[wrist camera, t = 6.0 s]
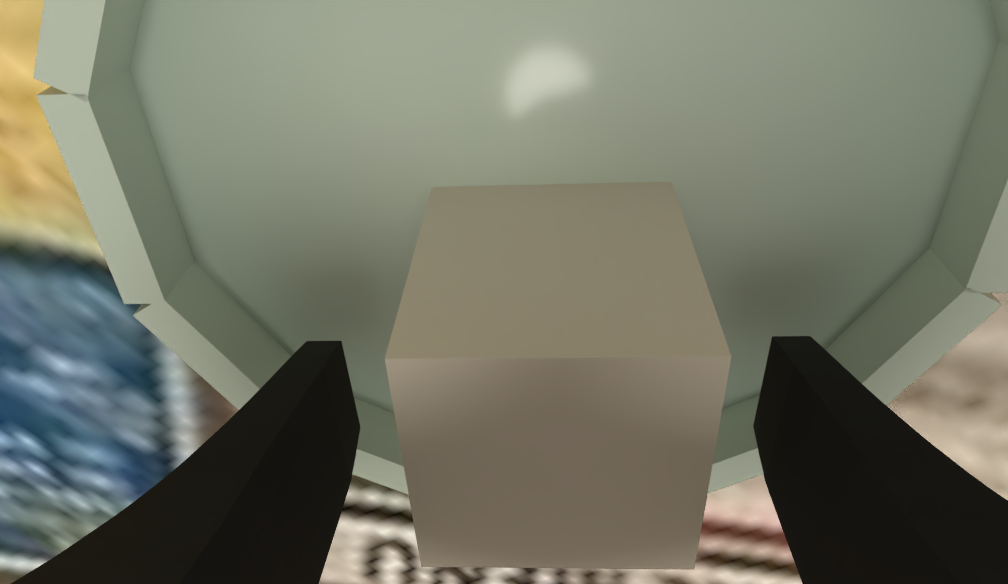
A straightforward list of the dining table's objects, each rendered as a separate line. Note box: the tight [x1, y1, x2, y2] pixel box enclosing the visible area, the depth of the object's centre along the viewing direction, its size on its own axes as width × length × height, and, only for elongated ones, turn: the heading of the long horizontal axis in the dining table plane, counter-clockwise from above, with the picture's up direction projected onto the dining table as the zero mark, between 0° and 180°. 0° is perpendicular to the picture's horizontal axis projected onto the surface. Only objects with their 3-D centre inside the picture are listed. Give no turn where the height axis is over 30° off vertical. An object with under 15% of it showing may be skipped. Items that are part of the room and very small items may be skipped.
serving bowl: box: [34, 0, 1008, 495], centre depth 13 cm, size 16×16×2 cm
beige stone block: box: [385, 182, 731, 569], centre depth 12 cm, size 4×4×5 cm
